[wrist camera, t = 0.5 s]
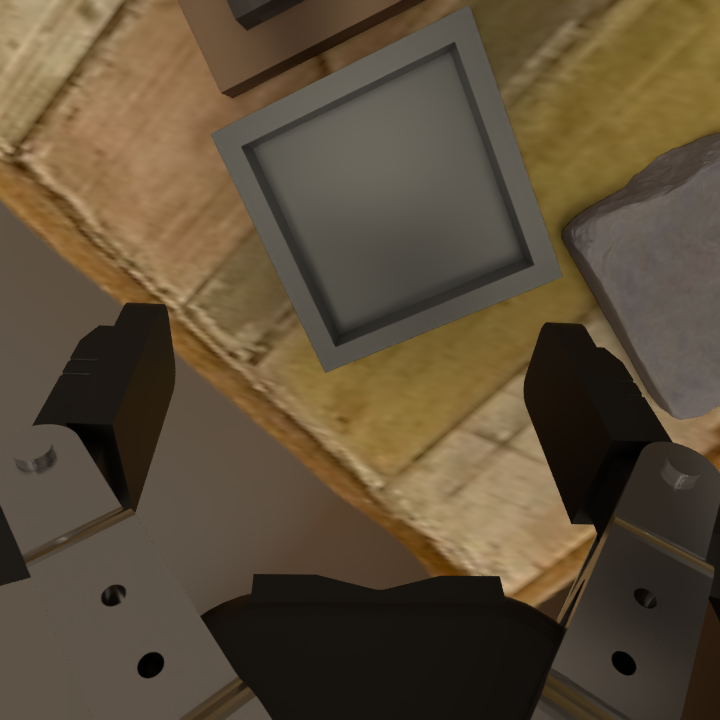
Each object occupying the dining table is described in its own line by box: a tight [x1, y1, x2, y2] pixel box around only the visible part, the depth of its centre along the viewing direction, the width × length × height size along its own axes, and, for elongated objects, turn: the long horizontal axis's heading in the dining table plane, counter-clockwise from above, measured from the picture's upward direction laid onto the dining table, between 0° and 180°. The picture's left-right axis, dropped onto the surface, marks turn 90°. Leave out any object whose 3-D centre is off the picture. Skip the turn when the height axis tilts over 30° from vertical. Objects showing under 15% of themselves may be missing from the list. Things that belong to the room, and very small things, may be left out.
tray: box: [211, 5, 563, 373], centre depth 28 cm, size 12×12×3 cm
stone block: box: [562, 133, 720, 419], centre depth 29 cm, size 12×5×10 cm
